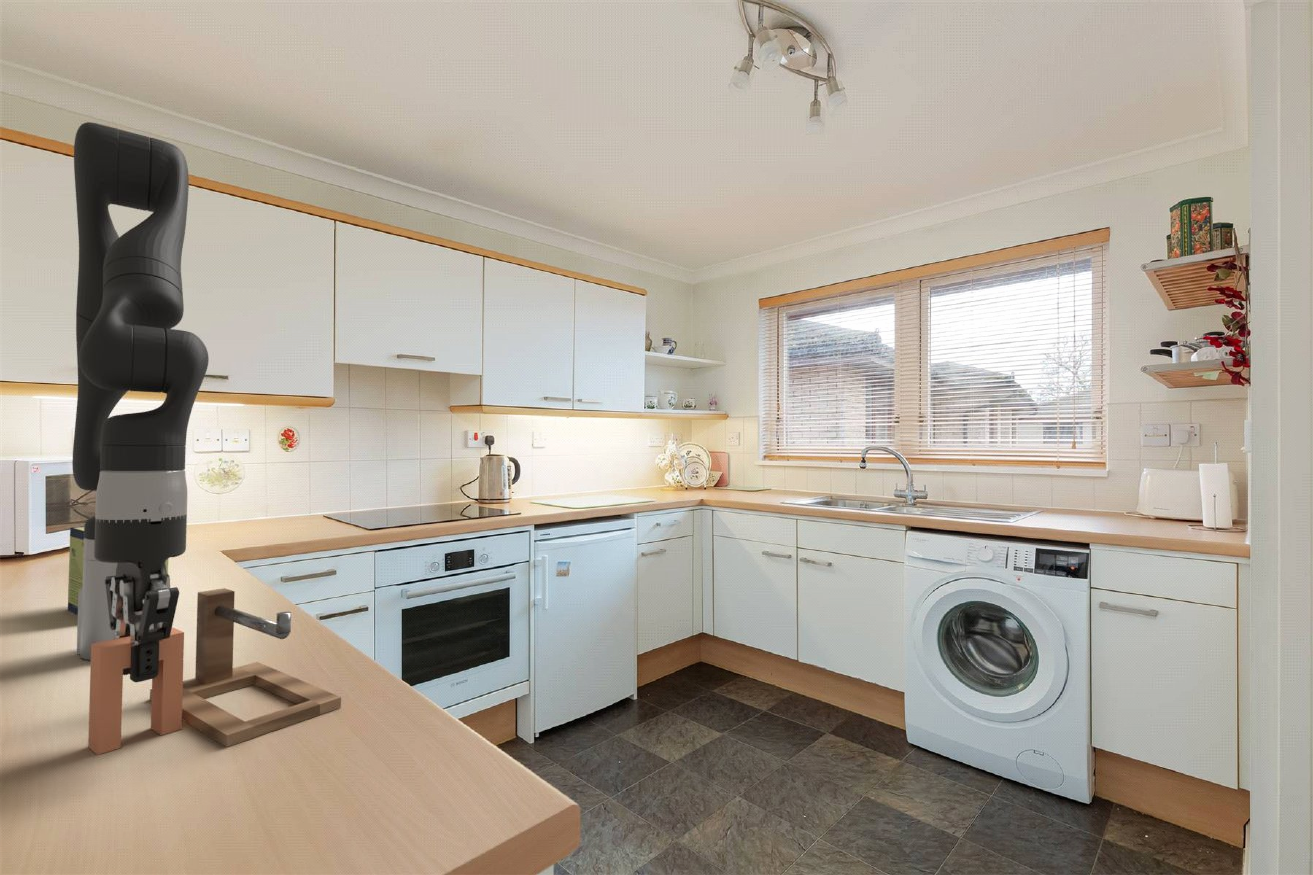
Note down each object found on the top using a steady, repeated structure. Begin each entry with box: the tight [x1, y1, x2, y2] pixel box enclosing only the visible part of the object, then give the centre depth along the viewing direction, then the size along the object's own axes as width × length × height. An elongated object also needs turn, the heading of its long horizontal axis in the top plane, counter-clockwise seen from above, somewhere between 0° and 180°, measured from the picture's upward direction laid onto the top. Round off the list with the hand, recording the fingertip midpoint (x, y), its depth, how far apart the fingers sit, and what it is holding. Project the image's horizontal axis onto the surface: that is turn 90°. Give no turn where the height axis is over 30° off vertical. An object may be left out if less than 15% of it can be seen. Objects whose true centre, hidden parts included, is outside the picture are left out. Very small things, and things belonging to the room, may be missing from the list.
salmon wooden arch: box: [87, 627, 185, 756], centre depth 66 cm, size 7×3×10 cm, turn 146°
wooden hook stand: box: [149, 587, 342, 748], centre depth 75 cm, size 21×12×12 cm, turn 56°
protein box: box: [67, 525, 169, 615], centre depth 115 cm, size 10×16×16 cm
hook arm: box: [215, 605, 292, 640], centre depth 74 cm, size 17×1×3 cm, turn 56°
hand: (138, 675), depth 66 cm, fingers closed on salmon wooden arch, 3 cm apart
